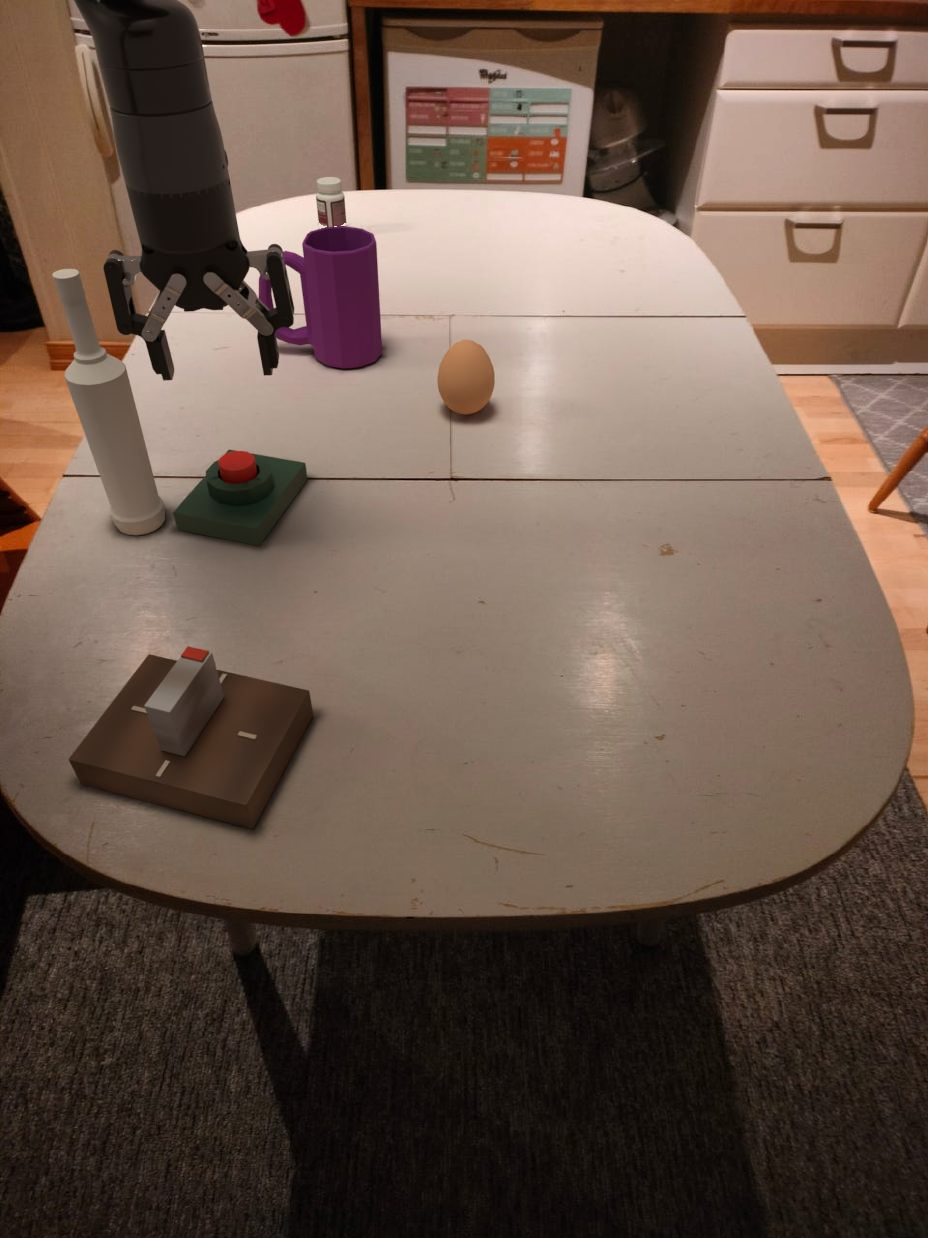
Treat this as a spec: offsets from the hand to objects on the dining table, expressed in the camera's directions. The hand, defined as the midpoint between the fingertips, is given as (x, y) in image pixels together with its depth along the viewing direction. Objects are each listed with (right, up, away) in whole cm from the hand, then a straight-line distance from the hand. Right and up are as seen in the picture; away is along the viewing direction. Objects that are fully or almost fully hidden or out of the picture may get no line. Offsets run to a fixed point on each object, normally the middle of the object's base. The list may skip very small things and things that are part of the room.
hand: (219, 373), depth 74 cm
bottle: (-11, -12, +12) cm, 20 cm away
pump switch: (-1, -9, +14) cm, 17 cm away
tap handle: (+1, -29, -11) cm, 31 cm away
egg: (+22, +4, +29) cm, 36 cm away
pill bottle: (-1, +45, +72) cm, 84 cm away
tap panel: (+1, -31, -9) cm, 33 cm away
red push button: (-1, -7, +12) cm, 14 cm away
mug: (+3, +14, +39) cm, 42 cm away
